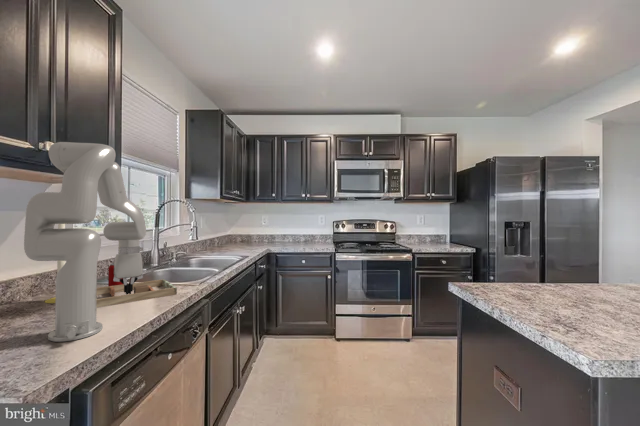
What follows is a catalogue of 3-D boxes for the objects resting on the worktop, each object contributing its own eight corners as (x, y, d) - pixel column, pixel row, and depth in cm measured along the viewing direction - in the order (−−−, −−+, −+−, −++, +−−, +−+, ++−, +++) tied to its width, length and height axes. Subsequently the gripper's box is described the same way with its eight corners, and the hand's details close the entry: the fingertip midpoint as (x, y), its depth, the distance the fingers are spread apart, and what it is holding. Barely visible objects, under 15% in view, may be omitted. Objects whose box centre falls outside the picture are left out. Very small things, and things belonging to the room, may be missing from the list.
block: (148, 295, 129) (149, 286, 129) (135, 297, 125) (135, 288, 125) (146, 293, 132) (146, 284, 132) (133, 295, 129) (133, 286, 129)
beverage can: (128, 287, 143) (128, 262, 143) (117, 290, 136) (118, 264, 136) (116, 286, 143) (116, 262, 144) (104, 290, 137) (104, 264, 137)
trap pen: (176, 294, 130) (176, 287, 130) (91, 308, 111) (91, 300, 111) (164, 285, 147) (164, 279, 147) (88, 295, 127) (88, 288, 127)
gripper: (146, 249, 133) (146, 289, 133) (106, 251, 123) (105, 294, 123) (150, 250, 128) (149, 292, 127) (108, 253, 118) (107, 298, 117)
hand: (128, 293), depth 125 cm, fingers closed
